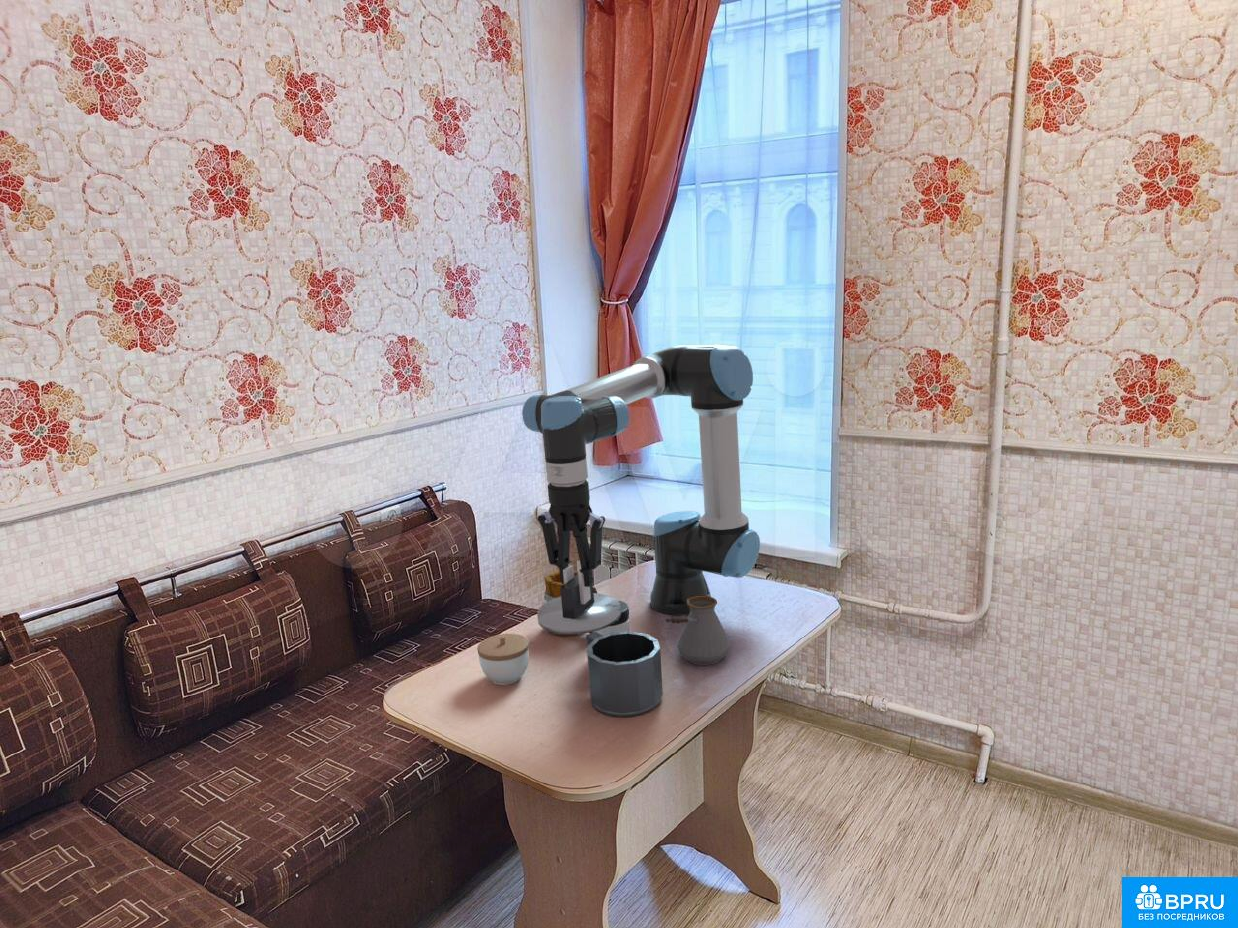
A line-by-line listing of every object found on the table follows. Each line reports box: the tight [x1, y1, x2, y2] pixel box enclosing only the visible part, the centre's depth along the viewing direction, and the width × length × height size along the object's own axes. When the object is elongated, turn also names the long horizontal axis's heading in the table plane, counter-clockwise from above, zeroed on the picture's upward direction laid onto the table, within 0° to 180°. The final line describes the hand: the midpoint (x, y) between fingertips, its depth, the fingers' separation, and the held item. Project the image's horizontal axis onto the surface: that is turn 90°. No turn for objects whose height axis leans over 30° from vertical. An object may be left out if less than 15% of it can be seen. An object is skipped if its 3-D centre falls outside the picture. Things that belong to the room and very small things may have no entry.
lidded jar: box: [477, 633, 530, 686], centre depth 174 cm, size 11×11×9 cm
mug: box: [543, 570, 599, 637], centre depth 195 cm, size 11×16×15 cm, turn 46°
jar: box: [594, 599, 631, 636], centre depth 179 cm, size 9×8×12 cm
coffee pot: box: [661, 596, 731, 666], centre depth 173 cm, size 21×12×15 cm, turn 147°
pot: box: [585, 630, 664, 718], centre depth 164 cm, size 14×18×11 cm
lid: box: [536, 574, 621, 635], centre depth 158 cm, size 16×16×8 cm
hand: (578, 600), depth 158 cm, fingers closed on lid, 2 cm apart
